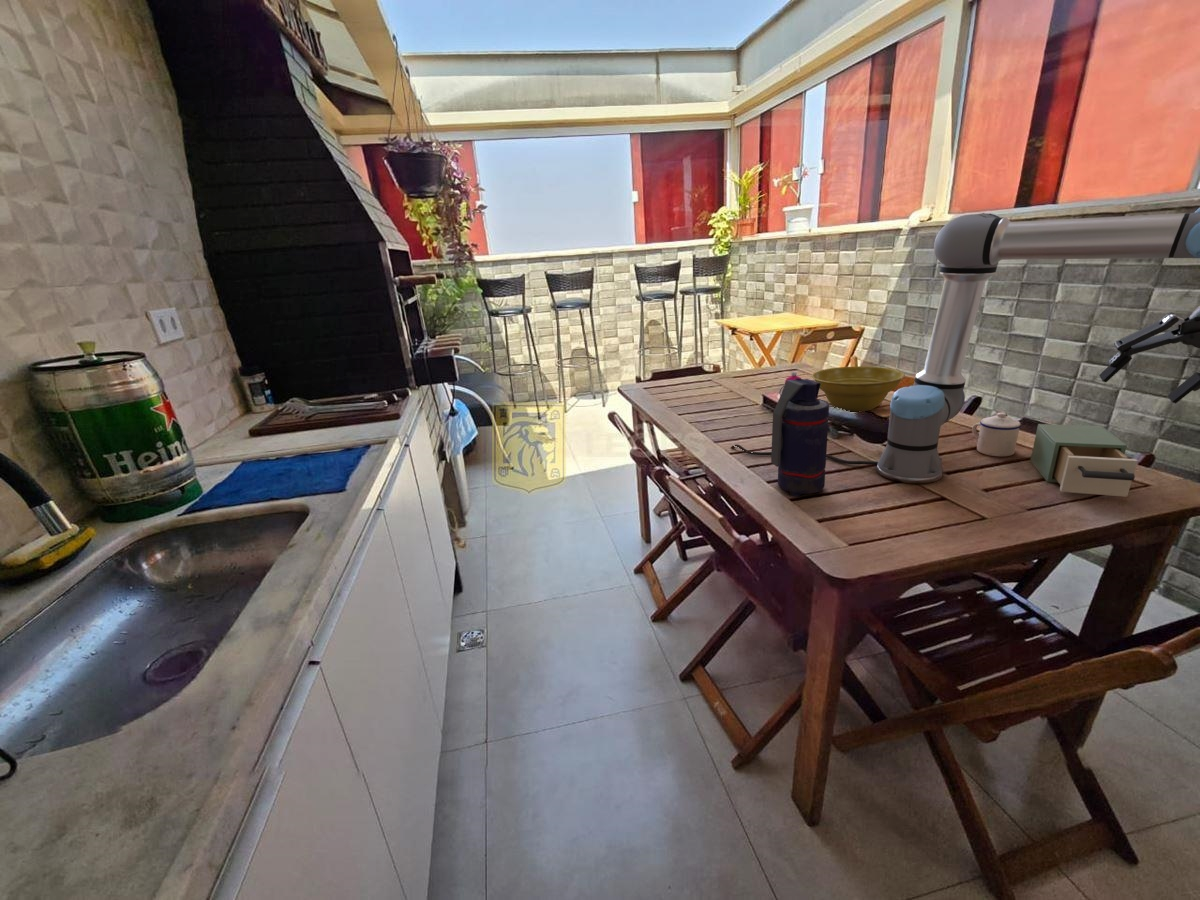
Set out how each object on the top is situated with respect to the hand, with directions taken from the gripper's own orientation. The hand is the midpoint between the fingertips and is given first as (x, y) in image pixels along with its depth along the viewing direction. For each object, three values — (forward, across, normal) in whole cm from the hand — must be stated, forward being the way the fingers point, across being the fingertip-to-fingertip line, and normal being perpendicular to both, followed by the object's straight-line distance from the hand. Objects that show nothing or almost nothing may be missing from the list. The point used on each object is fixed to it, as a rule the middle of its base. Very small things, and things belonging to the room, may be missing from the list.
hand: (1136, 389), depth 109 cm
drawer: (+21, +3, -10) cm, 24 cm away
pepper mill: (+52, -61, +30) cm, 85 cm away
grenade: (+42, -56, -26) cm, 75 cm away
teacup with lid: (+35, -7, +12) cm, 37 cm away
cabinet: (+25, +5, -1) cm, 26 cm away
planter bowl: (+61, -36, +52) cm, 87 cm away
